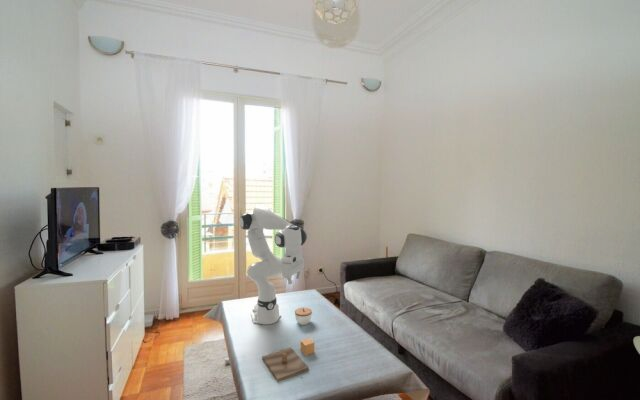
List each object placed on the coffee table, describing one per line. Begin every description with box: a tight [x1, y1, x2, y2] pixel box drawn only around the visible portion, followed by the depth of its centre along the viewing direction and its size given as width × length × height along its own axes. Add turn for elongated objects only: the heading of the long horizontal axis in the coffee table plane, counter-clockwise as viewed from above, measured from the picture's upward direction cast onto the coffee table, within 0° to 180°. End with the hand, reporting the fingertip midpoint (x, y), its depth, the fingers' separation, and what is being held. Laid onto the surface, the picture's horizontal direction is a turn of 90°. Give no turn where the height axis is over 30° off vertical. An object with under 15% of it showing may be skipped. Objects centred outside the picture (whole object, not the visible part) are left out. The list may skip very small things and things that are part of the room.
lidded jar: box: [294, 306, 313, 326], centre depth 190 cm, size 11×11×9 cm
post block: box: [261, 346, 310, 383], centre depth 147 cm, size 20×16×5 cm
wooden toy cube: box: [300, 337, 315, 356], centre depth 158 cm, size 5×5×6 cm
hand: (294, 281), depth 161 cm, fingers open, 8 cm apart
